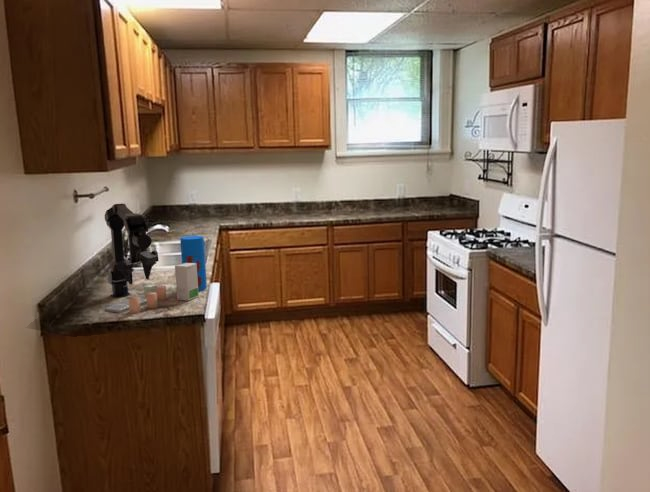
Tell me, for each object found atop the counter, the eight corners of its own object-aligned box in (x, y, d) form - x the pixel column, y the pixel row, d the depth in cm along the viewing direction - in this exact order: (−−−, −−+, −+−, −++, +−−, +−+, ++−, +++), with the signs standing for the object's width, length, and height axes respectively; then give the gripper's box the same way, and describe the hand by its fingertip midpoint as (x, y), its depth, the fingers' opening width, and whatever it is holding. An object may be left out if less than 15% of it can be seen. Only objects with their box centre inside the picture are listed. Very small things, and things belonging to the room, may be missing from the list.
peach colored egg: (127, 312, 224) (125, 298, 223) (135, 309, 228) (133, 296, 227) (135, 314, 222) (133, 299, 221) (143, 311, 226) (141, 297, 225)
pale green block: (144, 297, 248) (143, 286, 247) (151, 294, 251) (150, 284, 250) (151, 298, 246) (150, 287, 245) (157, 295, 249) (156, 285, 248)
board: (104, 310, 228) (104, 308, 228) (138, 298, 245) (138, 296, 244) (120, 313, 224) (120, 310, 224) (153, 300, 241) (153, 298, 241)
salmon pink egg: (144, 308, 230) (143, 294, 229) (152, 305, 234) (151, 291, 233) (152, 309, 228) (151, 295, 227) (160, 306, 232) (159, 292, 231)
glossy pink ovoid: (154, 300, 241) (153, 287, 240) (161, 298, 245) (160, 285, 244) (162, 301, 239) (161, 288, 238) (168, 299, 243) (167, 286, 242)
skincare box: (188, 301, 239) (186, 266, 236) (176, 299, 242) (173, 265, 239) (199, 296, 247) (197, 262, 244) (187, 295, 249) (185, 262, 246)
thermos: (190, 285, 266) (186, 235, 262) (210, 286, 264) (207, 235, 260) (179, 291, 256) (176, 239, 251) (201, 292, 254) (197, 239, 249)
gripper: (133, 250, 212) (137, 289, 215) (167, 242, 229) (169, 278, 232) (113, 248, 217) (116, 286, 220) (147, 241, 234) (149, 276, 237)
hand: (139, 281), depth 227 cm, fingers open, 9 cm apart
